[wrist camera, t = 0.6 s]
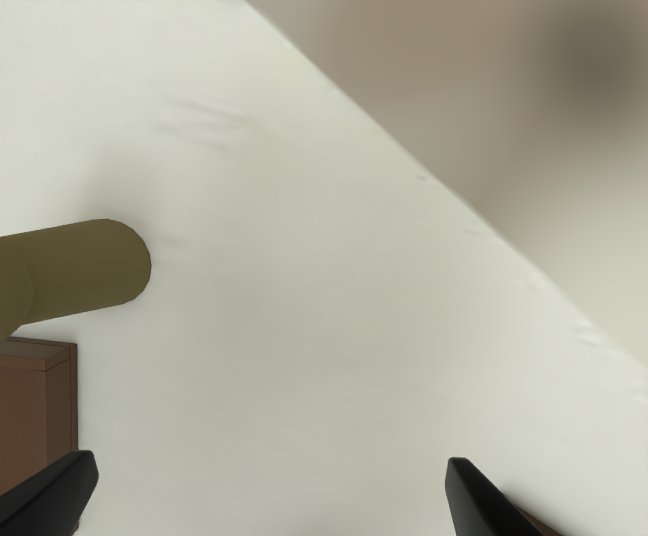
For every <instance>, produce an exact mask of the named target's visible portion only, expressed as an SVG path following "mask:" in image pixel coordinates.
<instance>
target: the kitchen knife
mask: <svg viewBox="0 0 648 536" xmlns="http://www.w3.org/2000/svg"><path fill="white" fill-rule="evenodd" d="M515 506H516V505H515ZM516 507H517V506H516ZM517 508H518V509H519V510H520V511H521V512H522V513H523V514H524V515H525V516H526V517H527V518H528V519H529V520H530V521H531V522H532V523H533V524H534V525H535V526H536V527H537V528H538V529H539V530H540V531H541V532H542V533H543V534H544V535H545V536H562V535H560V534H559V533H557V532H556V531H554V530H553V529H551V528H549V527H548V526H546V525H545V524H543V523H542V522H540V521H539V520H537V519H536V518H534V517H533V516H531V515H530V514H528V513H526V512H525V511H523V510H522V509H520V508H519V507H517Z"/></svg>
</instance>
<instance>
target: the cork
mask: <svg viewBox="0 0 648 536" xmlns="http://www.w3.org/2000/svg"><path fill="white" fill-rule="evenodd" d="M150 271H151V262H150V256H149V252H148V250H147V248H146V246H145V244H144V242H143V240H142V239H141V238H140V237H139V236H138V234H137V233H136V232H135V231H134V230H133V229H131V228H130V227H128V226H126V225H124V224H123V223H121V222H118V221H114V220H110V219H98V220H90V221H84V222H79V223H73V224H68V225H62V226H57V227H52V228H46V229H41V230H35V231H30V232H24V233H19V234H13V235H8V236H3V237H0V342H1V341H3V340H4V339H6V338H7V337H9V336H10V335H11V334H12V333H13V332H14V331H15V330H17V329H18V328H19V327H20V326H21V325H24V324H29V323H34V322H39V321H44V320H48V319H53V318H58V317H63V316H68V315H72V314H77V313H82V312H87V311H92V310H97V309H101V308H106V307H111V306H116V305H121V304H124V303H126V302H128V301H131V300H133V299H135V298H136V297H137V296H138V295H139V294H140V293H141V292H142V291H143V290H144V288H145V286H146V285H147V283H148V281H149V277H150Z"/></svg>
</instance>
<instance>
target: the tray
mask: <svg viewBox="0 0 648 536" xmlns="http://www.w3.org/2000/svg"><path fill="white" fill-rule="evenodd" d="M74 450H77V349H76V344H70V343H62V342H53V341H44V340H35V339H27V338H18V337H7V338H6V339H4V340H3V341H1V342H0V496H1V495H2V494H4V493H6V492H7V491H9V490H10V489H12V488H14V487H15V486H17V485H18V484H20V483H22V482H23V481H25V480H26V479H28V478H29V477H31V476H33V475H34V474H36V473H37V472H39V471H41V470H42V469H44V468H45V467H47V466H49V465H50V464H52V463H53V462H55V461H57V460H58V459H60V458H61V457H63V456H65V455H66V454H68V453H69V452H71V451H74ZM77 529H78V522H77V524H76V526H75V528H74V530H73V532H72V534H71V536H72V535H73V534H74V533H75V532H76V530H77Z"/></svg>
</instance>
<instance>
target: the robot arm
mask: <svg viewBox="0 0 648 536" xmlns="http://www.w3.org/2000/svg"><path fill="white" fill-rule="evenodd" d="M98 478H99V473H98V469H97V465H96V462H95V458H94V455H93V452H91V451H90V450H74V451H71V452H69V453H68V454H66V455H65V456H63V457H61V458H60V459H58V460H57V461H55V462H53V463H52V464H50V465H49V466H47V467H45V468H44V469H42V470H41V471H39V472H37V473H36V474H34V475H33V476H31V477H29V478H28V479H26V480H25V481H23V482H22V483H20V484H18V485H17V486H15V487H14V488H12V489H10V490H9V491H7V492H6V493H4V494H2V495H1V496H0V536H71V534H72V532H73V530H74V528H75V526H76V524H77V522H78V520H79V518H80V516H81V514H82V512H83V510H84V508H85V506H86V505H87V503H88V501H89V499H90V497H91V495H92V493H93V491H94V489H95V487H96V485H97V482H98ZM445 490H446V495H447V499H448V503H449V507H450V511H451V515H452V519H453V523H454V527H455V531H456V535H457V536H545V535H544V534H543V533H542V532H541V531H540V530H539V529H538V528H537V527H536V526H535V525H534V524H533V523H532V522H531V521H530V520H529V519H528V518H527V517H526V516H525V515H524V514H523V513H522V512H521V511H520V510H519V509H518V508H517V507H516V506H515V505H514V504H513V503H512V502H511V501H510V500H509V499H508V498H507V497H506V496H505V495H504V494H503V493H502V492H501V491H500V490H498V489H497V488H496V487H495V486H494V485H493V484H492V483H491V482H490V481H489V480H488V479H487V478H486V477H485V476H484V475H483V474H482V473H481V472H480V471H479V470H478V469H477V468H476V467H475V466H474V465H473V464H472V463H471V462H470V461H469V460H468V459H467V458H462V457H451V458H450V459H449V461H448V466H447V472H446V478H445Z"/></svg>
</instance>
